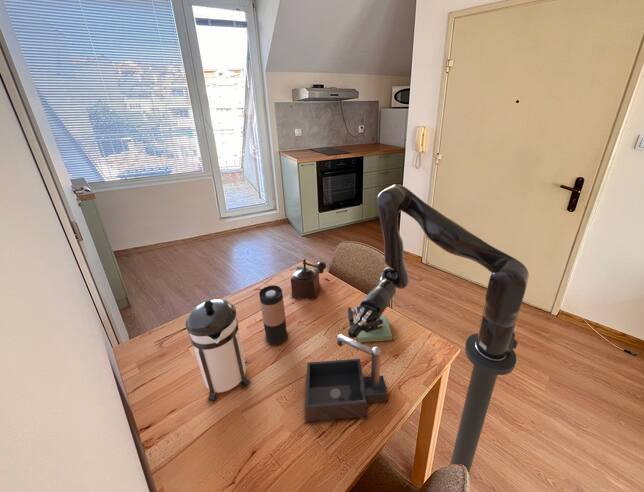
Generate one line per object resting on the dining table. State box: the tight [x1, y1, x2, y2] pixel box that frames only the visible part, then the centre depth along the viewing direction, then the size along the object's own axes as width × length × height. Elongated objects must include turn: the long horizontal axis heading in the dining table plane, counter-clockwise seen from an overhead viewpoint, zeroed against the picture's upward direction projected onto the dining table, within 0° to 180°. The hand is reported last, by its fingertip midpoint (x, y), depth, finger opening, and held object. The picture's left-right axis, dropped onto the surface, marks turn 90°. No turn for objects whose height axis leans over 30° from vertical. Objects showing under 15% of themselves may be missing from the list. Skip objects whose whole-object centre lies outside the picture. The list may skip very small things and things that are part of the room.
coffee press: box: [185, 298, 250, 402], centre depth 85 cm, size 17×16×30 cm
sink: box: [305, 358, 388, 423], centre depth 84 cm, size 22×14×6 cm, turn 94°
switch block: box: [354, 315, 393, 343], centre depth 107 cm, size 12×10×4 cm
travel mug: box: [258, 285, 288, 346], centre depth 102 cm, size 8×8×20 cm
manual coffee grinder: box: [290, 258, 327, 300], centre depth 126 cm, size 16×11×18 cm
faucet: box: [336, 333, 382, 388], centre depth 84 cm, size 14×3×14 cm, turn 59°
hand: (351, 335), depth 86 cm, fingers closed
